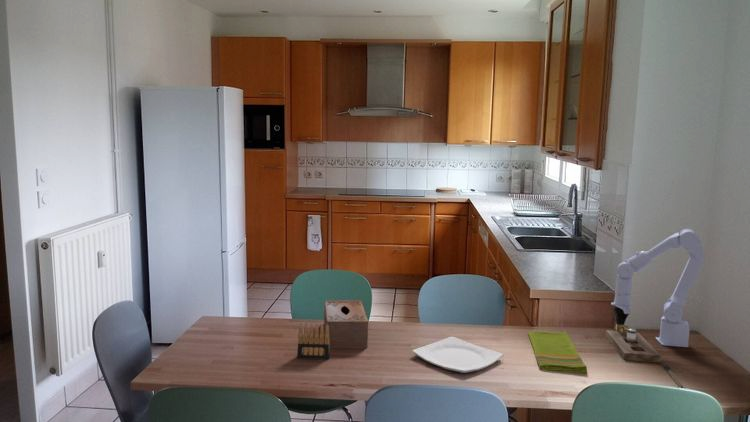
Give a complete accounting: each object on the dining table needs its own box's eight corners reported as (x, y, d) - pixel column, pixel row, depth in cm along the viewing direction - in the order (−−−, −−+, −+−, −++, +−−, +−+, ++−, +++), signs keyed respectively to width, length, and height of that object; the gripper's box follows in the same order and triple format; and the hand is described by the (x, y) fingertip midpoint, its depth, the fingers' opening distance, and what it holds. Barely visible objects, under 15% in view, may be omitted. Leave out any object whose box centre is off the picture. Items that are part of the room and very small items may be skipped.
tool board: (637, 338, 223) (638, 332, 223) (659, 362, 199) (660, 355, 199) (605, 336, 225) (606, 330, 224) (623, 359, 201) (624, 352, 201)
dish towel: (539, 371, 189) (540, 362, 189) (527, 335, 224) (527, 327, 224) (588, 375, 187) (588, 366, 187) (567, 338, 222) (568, 330, 222)
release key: (626, 330, 225) (626, 324, 225) (630, 334, 220) (630, 329, 220) (615, 329, 225) (616, 323, 225) (619, 333, 220) (620, 328, 220)
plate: (450, 341, 214) (451, 334, 213) (507, 361, 196) (508, 354, 196) (406, 357, 196) (406, 350, 196) (464, 381, 179) (465, 372, 179)
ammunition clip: (329, 357, 193) (330, 322, 192) (329, 359, 192) (330, 324, 190) (297, 356, 193) (298, 321, 192) (296, 358, 191) (297, 323, 190)
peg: (633, 346, 214) (635, 328, 213) (635, 349, 211) (637, 331, 210) (624, 345, 215) (626, 327, 214) (627, 348, 212) (629, 330, 211)
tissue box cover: (324, 324, 227) (324, 300, 225) (360, 324, 228) (361, 300, 227) (326, 349, 201) (327, 321, 200) (367, 348, 203) (368, 321, 202)
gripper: (607, 287, 233) (604, 319, 234) (617, 297, 218) (614, 331, 220) (625, 288, 232) (622, 321, 234) (637, 298, 218) (633, 333, 219)
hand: (619, 326), depth 227 cm, fingers closed
